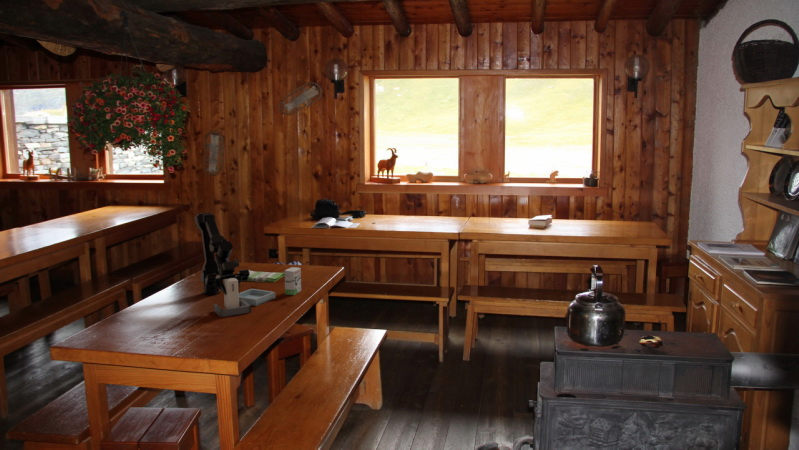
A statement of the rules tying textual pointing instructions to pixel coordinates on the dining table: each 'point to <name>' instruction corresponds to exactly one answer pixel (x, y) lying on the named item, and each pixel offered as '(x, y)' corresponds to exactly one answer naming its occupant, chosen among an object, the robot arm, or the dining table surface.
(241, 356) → the dining table surface
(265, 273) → the dish towel
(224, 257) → the robot arm
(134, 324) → the dining table surface
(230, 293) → the tall beige block
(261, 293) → the tray
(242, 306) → the bay
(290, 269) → the ink box
